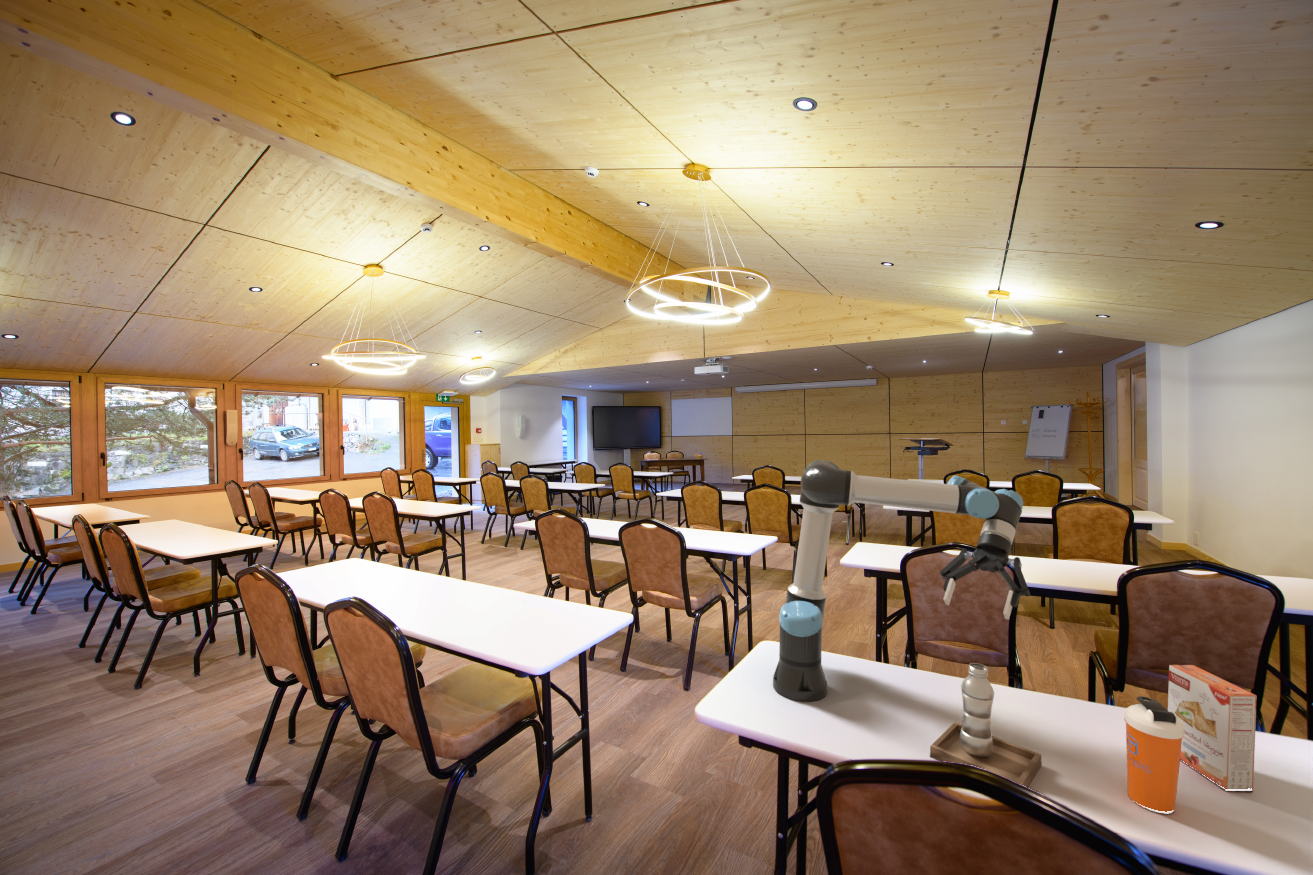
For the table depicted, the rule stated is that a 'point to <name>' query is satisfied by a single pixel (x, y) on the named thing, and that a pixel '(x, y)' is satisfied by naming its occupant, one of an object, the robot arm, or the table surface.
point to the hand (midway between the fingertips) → (974, 609)
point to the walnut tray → (1001, 761)
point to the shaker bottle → (1153, 754)
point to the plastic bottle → (977, 712)
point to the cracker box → (1214, 725)
